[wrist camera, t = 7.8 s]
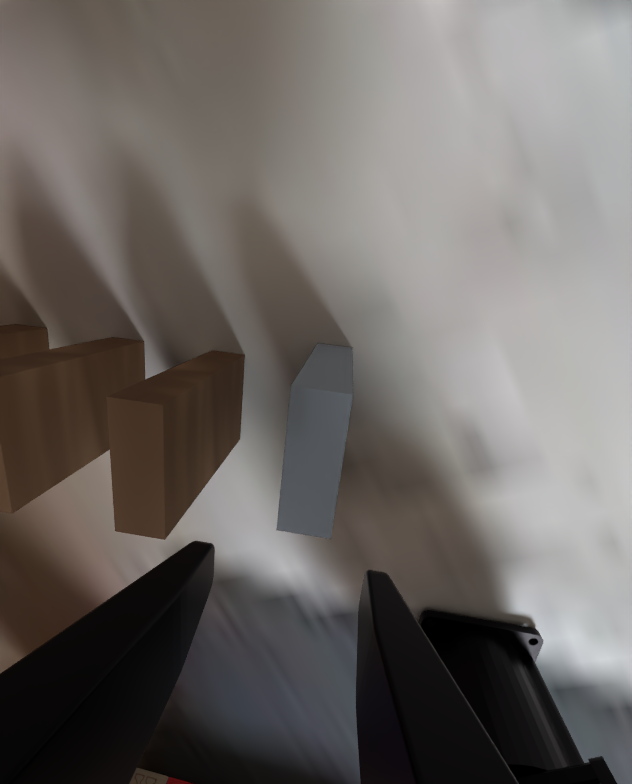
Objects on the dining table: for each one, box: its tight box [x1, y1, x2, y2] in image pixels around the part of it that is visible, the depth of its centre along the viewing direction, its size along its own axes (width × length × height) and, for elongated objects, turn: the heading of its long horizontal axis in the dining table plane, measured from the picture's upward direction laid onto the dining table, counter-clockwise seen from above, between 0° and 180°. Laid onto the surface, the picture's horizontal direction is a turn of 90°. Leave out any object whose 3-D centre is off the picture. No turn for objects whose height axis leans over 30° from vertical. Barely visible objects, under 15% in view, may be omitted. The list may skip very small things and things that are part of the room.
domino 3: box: [277, 343, 353, 539], centre depth 13 cm, size 2×4×8 cm, turn 173°
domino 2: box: [106, 351, 245, 540], centre depth 14 cm, size 2×4×8 cm, turn 173°
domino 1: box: [0, 337, 145, 513], centre depth 14 cm, size 2×4×8 cm, turn 174°
